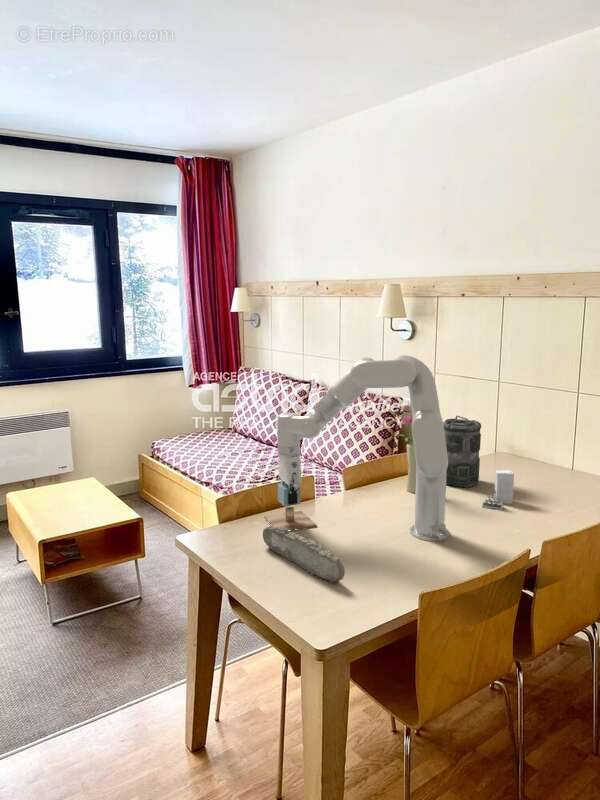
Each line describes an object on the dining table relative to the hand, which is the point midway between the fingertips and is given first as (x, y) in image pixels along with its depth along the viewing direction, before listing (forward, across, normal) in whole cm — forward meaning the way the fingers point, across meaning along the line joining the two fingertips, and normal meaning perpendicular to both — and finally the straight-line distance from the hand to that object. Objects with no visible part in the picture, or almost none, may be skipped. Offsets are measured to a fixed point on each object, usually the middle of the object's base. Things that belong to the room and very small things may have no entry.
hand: (289, 500), depth 199 cm
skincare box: (+9, -12, -82) cm, 83 cm away
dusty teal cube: (+1, 0, 0) cm, 1 cm away
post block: (+9, 0, 0) cm, 9 cm away
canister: (+9, +14, -81) cm, 83 cm away
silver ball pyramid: (+9, -14, -77) cm, 79 cm away
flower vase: (+9, +11, -55) cm, 56 cm away
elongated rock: (+9, -31, +8) cm, 33 cm away
